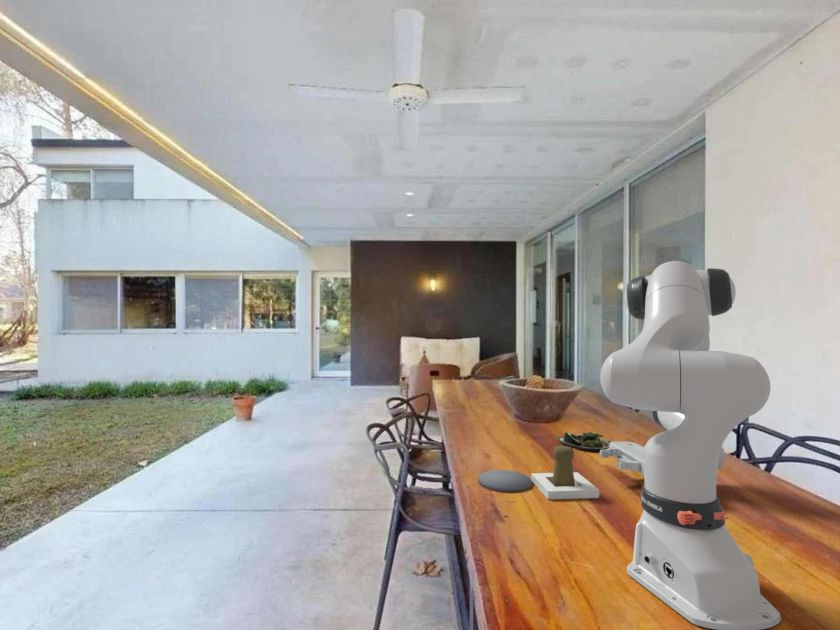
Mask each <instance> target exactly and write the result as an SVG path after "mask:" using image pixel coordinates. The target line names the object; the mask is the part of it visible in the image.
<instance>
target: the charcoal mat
mask: <svg viewBox="0 0 840 630" xmlns="http://www.w3.org/2000/svg"><path fill="white" fill-rule="evenodd" d="M478 483H479V485H480V486H482V487H483V488H485V489H487V490H491V491H495V492H499V493H501V492H503V493H516V491H518V492H523V491H526V490H527V489H530V488H531V487H532V481H531V476H528V475H527V474H524V473H522V472H519V471H513V470H505V469H493V470H488V471H487V470H486V471H484V472H482V473H480V474H479V475H478ZM530 486H531V487H530ZM529 487H530V488H529ZM522 490H523V491H522ZM514 491H515V492H514Z"/></svg>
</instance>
